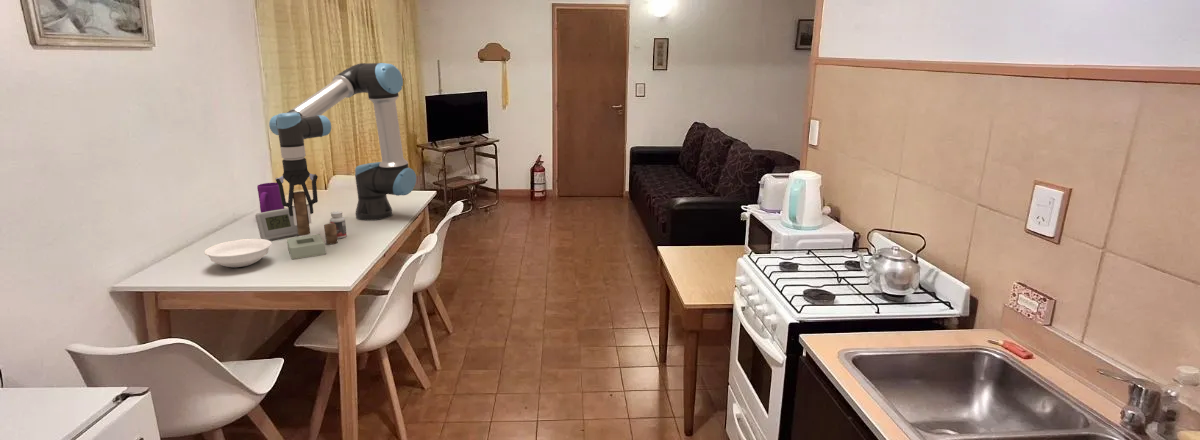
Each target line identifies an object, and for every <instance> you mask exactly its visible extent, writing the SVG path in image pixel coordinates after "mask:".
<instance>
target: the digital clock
mask: <svg viewBox="0 0 1200 440" xmlns="http://www.w3.org/2000/svg"><path fill="white" fill-rule="evenodd" d="M254 216H255V222H256V224H257V229H258V232H259V237H260V239H265V240H269V241H277V240H281V239H287V238H294V237H297V236H299V235H298V230H297V225H296V226H295V225H294V219H293V216H290V215H289V209H288V207H287V208H286V207H284V209H278V210H272V211H266V212H262V213H261V212H257V213H256V214H255V215H254Z"/></svg>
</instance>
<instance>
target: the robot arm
mask: <svg viewBox="0 0 1200 440" xmlns="http://www.w3.org/2000/svg"><path fill="white" fill-rule="evenodd" d="M403 83H404V79H403V75H402V73H401V71H400V69H399V68H397V66H395V65H394V64H391V63H385V62H375V63H374V62H372V63H371V62H370V63H366V62H362V63H361V62H360V63H357V64H354V65H351V66H349V67H348V68H345V69H344V70H342V71H341V72H339V73H337V75H335V76H333V78H332V81H331V82H329V83H328V84H326V85H325V86H324V87H323V88H321V89H319V90H318V91H316V92H315V93H314V94H312V95H310V96H309V97H308V98H306V99H304V100H303V101H301V102H300V103H299V104H298V105H296V106H294V107H293V108H292V109H290V110H289V111H286V112H280V113H278V114H276V115H273V116H272V117H271V118H270V120H269V125H268V126H269V129H270V131H271V133H272V134H274V135H276V136H278V139H279V146H280V154H281V155H280V156H281V158H282V160H281V162H282V169H283V174H282V175H281V176H279V177H275V179H274V180H275V183H278V185H279V191H280V196H281V201H282V205H283V206H284V207H285V208H286V207H287V208H288V209H289V215H290V216H293V219H294V225H295V226H296V225H297V220H296V212H295V207H294V201H293V192H295V186H297V185H299V186H301V187H302V191H304V192H305V196H306V202H307V203H306V204H307V212H308V219H309V225H311V224H312V216H311V215H312V214H314V207H313V205H314V204H316V203H318V201H319V200H318V198H319V197H318V188H317V187H318V186H317V180H318V178H319V177H318V175H317V174H316V173H315V174H314V173H310V172H309V170H308V163H307V158H306V156H307V155H306V149H305V147H306V146H305V140H307V139H313V138H322V137H325V136H328V135H329V134H330V133H331V131H332V123H331V120H330V118H328V117H327V116H326V115H323V114H324V113H326V112H327V111H328V110H330V109H331V108H333V107H334V106H335V105H337V104H339V103H340V102H341V101H342V100H344V99H345V98H347V99H348V98H351V97H353V96H354V95H358V94H361V93H362V94H365V93H366V94H367V97H368V100H369V101H371V102H372V103H373V110H374V115H375V122H376V129H377V135H378V143H379V149H380V154H381V155H380V156H381V161H375V162H370V163H363V164H359V165H356V167H355V169H354V171H355V175H354V176H355V184H356V191H357V192H356V193H357V199H358V200H357V203H356V208H355V218H356V219H357V220H361V221H375V220H382V219H383V220H384V219H387V218H389V217H392V216H393V214H394V213H393V208H392V206H391V205H390V201H389V200H388V196H387V195H391V196H392V195H393V196H396V197H397V196H407V195H409V194H411V192H412V191H413V190H414V189H415V186H416V183H417V174H416V171H414V169H412V168H411V167H409V162H408V160H407V159H405V158H404V152H403V145H402V137H401V131H400V130H401V129H400V123H399V117H398V110H397V103H396V101H397V99H398V98H399V93H400V92H401V91H402V90H403V86H404V84H403ZM308 179H310V180H311V190H312V198H311V196H310V192H309V190H308V187H307V184H306V182H307V180H308ZM284 180H285V181H286V182H287V183H288V184H289V186H288V187H289V188H288V200H287V201H286V197H285V191H284V190H285V189H284V185H283V183H284Z"/></svg>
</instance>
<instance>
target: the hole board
mask: <svg viewBox="0 0 1200 440" xmlns="http://www.w3.org/2000/svg"><path fill="white" fill-rule="evenodd" d="M286 243H287V249H288V252H289V255H290V258H291V260H298V259H303V258H310V257H315V256H316V257H317V256H323V255H327V251H326V243H325V241H324V239H323V238H322V236H321V234H320V233H316V234H311V235H310V234H308V235H301V236H294V237H287V238H286Z"/></svg>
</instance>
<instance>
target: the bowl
mask: <svg viewBox="0 0 1200 440" xmlns="http://www.w3.org/2000/svg"><path fill="white" fill-rule="evenodd" d="M271 246H272V241H271V240H265V239H261V238H244V239H235V240H230V241H229V240H228V241H225V242H220V243H216V244H215V245H212V246H210V247H208V248H206V249H205V250H204V251H203V252H204V255H206V256H207V257H208V258H209V259H210V261H211V262H213V263H214V264H218V265H220V266H224V267H228V268H242V267H247V266H251V265H254V264H255V263H257V262H259V261H260V260H261V259H263V257H264V256H265V255H268V253H269V248H270V247H271Z"/></svg>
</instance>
